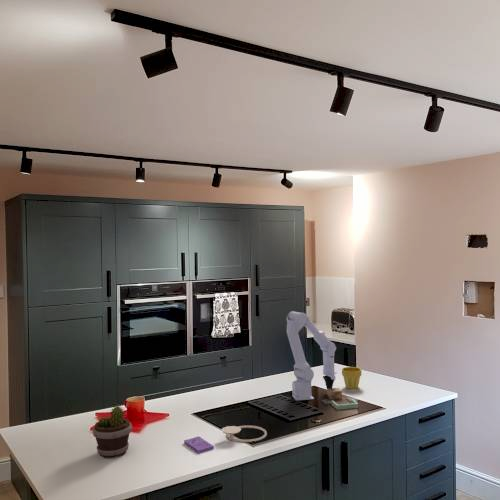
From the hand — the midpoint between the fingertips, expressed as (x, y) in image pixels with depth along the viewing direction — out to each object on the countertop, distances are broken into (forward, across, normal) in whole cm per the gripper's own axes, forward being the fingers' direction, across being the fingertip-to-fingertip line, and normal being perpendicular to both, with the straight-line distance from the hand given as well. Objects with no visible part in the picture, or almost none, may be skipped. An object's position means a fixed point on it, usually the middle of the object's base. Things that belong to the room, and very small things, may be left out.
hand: (329, 390), depth 269 cm
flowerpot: (+2, -54, +105) cm, 118 cm away
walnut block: (+2, -8, 0) cm, 8 cm away
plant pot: (+2, +7, -15) cm, 17 cm away
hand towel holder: (+2, -48, +53) cm, 72 cm away
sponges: (+2, -55, +72) cm, 91 cm away
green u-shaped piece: (+1, -20, 0) cm, 20 cm away
